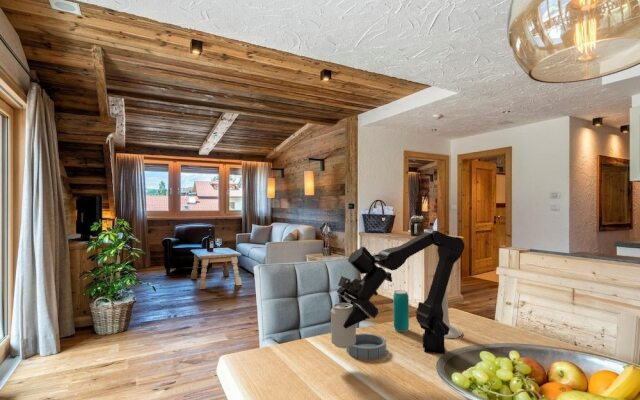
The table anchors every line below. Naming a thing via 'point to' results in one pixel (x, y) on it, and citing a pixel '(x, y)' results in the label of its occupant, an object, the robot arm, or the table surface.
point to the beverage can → (401, 311)
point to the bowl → (368, 347)
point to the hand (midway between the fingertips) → (339, 323)
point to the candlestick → (453, 330)
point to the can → (338, 333)
